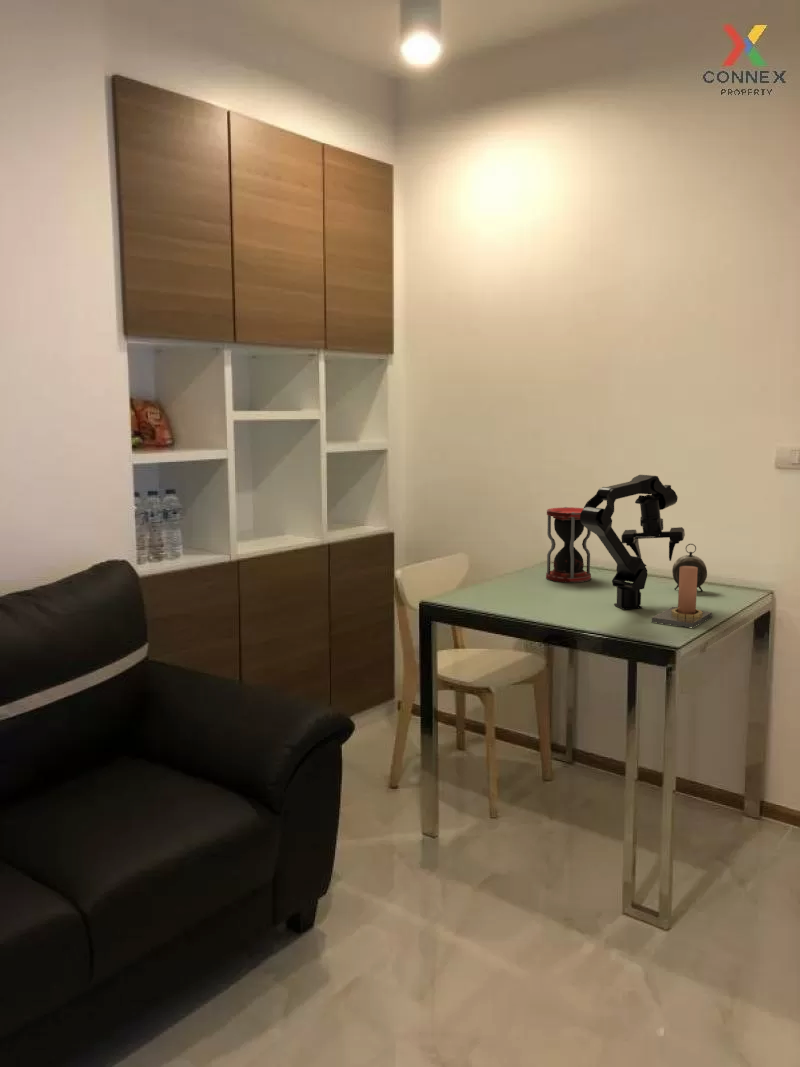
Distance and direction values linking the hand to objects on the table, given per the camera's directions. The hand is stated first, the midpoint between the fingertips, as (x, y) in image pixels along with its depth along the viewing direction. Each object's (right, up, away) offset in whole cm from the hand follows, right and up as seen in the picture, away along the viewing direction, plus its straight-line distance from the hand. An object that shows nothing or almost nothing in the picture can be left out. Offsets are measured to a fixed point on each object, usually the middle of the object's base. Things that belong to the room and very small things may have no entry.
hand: (655, 560), depth 280 cm
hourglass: (-20, -8, +39) cm, 45 cm away
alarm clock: (+16, -11, +15) cm, 24 cm away
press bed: (+2, -17, -22) cm, 27 cm away
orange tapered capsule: (+3, -15, -22) cm, 27 cm away
